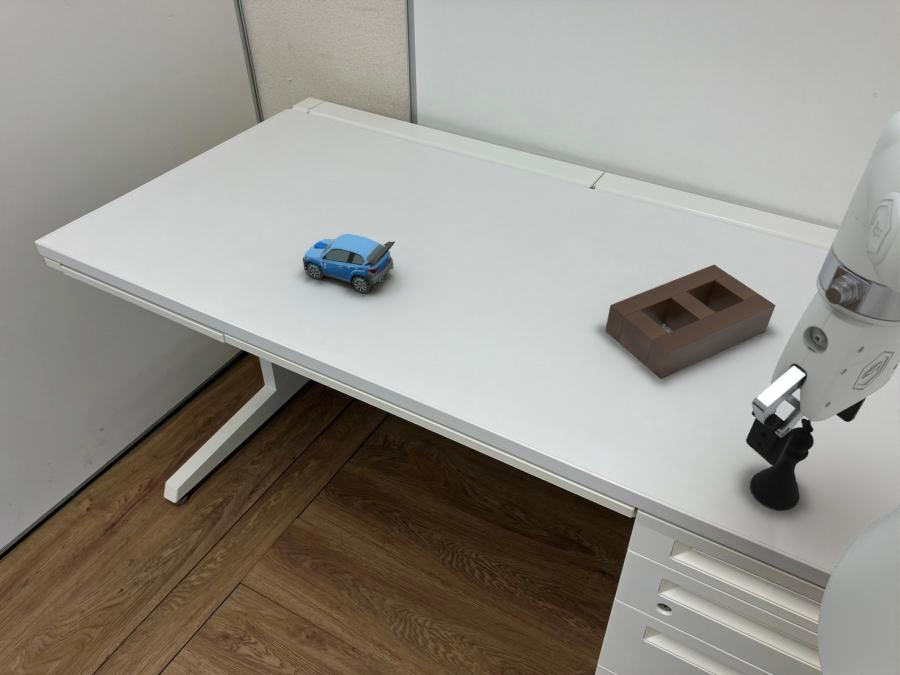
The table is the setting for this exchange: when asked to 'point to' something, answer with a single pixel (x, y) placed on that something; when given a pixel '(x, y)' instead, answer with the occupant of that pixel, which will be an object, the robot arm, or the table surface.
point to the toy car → (350, 260)
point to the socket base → (688, 319)
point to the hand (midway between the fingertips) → (799, 431)
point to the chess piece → (784, 472)
